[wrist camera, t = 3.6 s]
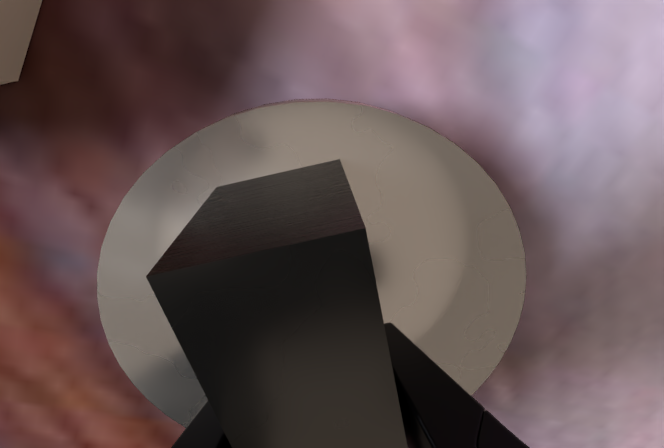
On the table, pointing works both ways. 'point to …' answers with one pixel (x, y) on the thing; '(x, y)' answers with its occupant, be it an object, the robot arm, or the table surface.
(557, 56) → the table surface
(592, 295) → the table surface
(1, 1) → the cooker pot
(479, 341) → the cooker lid
